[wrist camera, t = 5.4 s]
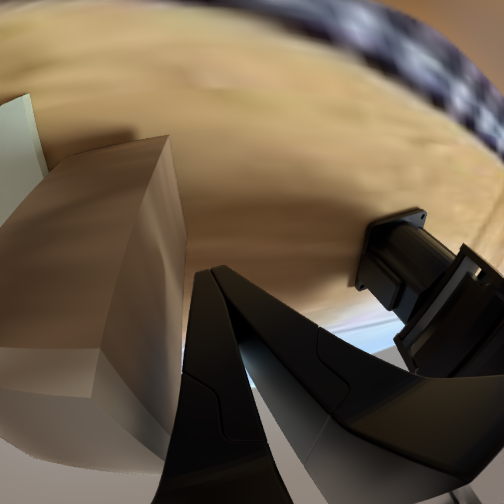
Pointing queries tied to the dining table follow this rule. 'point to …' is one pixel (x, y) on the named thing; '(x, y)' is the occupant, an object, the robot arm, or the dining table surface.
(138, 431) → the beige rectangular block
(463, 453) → the robot arm
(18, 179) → the mat
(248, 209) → the dining table surface
